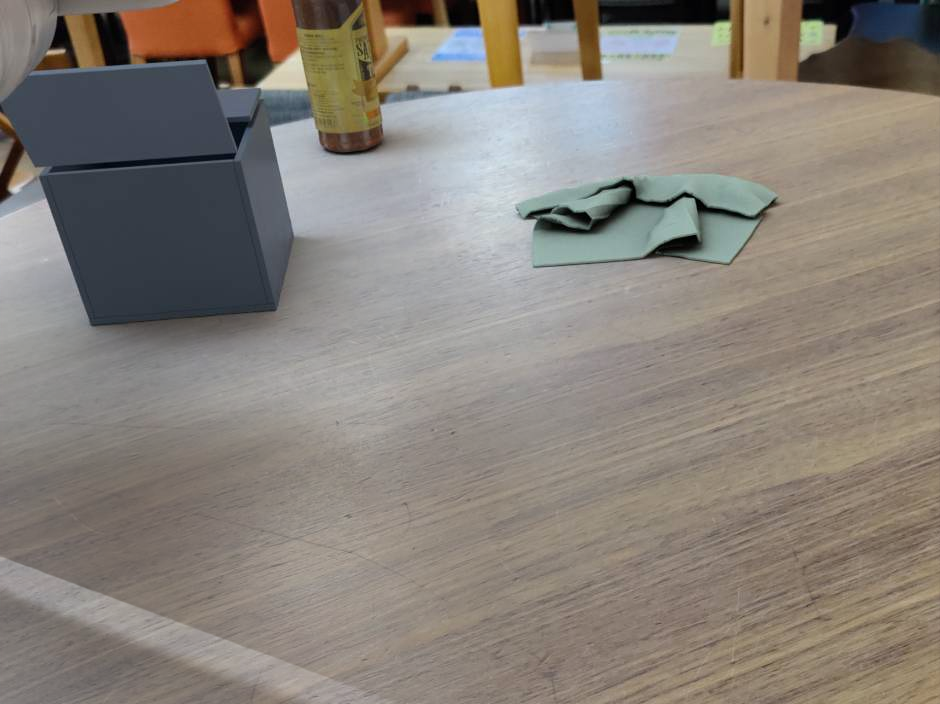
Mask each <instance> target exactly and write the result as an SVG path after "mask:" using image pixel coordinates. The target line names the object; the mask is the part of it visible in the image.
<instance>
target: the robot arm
mask: <svg viewBox="0 0 940 704" xmlns="http://www.w3.org/2000/svg"><path fill="white" fill-rule="evenodd" d="M179 1H180V0H0V103H1V102H3V101H4V100H5V99H6V98H7V97H9V95H10V94H11V93H12V92H13V91H14V90H15V89H16V88H17V87H18V86H19V85H20V84H21V83H22V82H23V80H24V79H25V78H26V77H27V76H28V75H29V74H30V73H31V72H32V71H35V69H36V68H37V67H38V66H39V65H40V63H41V62H42V61H43V59H44V58H45V57H46V55H47V53H48V51H49V50H50V48H51V46H52V44H53V40H54V37H55V33H56V29H57V23H58V22H57V21H58V17H64V16H79V15H80V16H81V15H93V14H109V13H122V12H134V11H135V12H136V11H143V10H151V9H156V8H161V7H165V6H169V5H172V4H175V3H178V2H179Z"/></svg>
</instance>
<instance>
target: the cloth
mask: <svg viewBox="0 0 940 704" xmlns="http://www.w3.org/2000/svg"><path fill="white" fill-rule="evenodd" d="M779 197H780V195H779V194H777V193H776V192H775V191H773V190H771V189H769V188H767V187H766V186H763V185H762V184H760V183H757V182H753V181H750V180H747V179H743V178H740V177H738V176H729V175H728V176H727V175H724V174H716V173H689V174H688V173H687V174H684V173H675V174H670V175H655V176H654V175H650V174H637V175H623V176H618V177H612V178H608V179H606V180H603V181H598V182H589V183H584V184H581V185H580V184H579V185H578V186H574V187H572V188H571V187H570V188H569V187H568V188H560V189H556V190H553V191H550V192H547V193H545V194H543V195H540V196H539V195H538V196H534V197H531V198H529V199H526V200H523V201H521V202H517V203H515V204H514V205H515V211H517V212H518V213H519V214H520V216H521V218H522V219H526V217H527V216H528V217H531V218H534V219H537V220H536V221H535V222H534V224H533V229H532V247H531V248H532V251H531V253H532V254H531V255H532V256H531V257H532V268H537V267H538V268H539V267H551V266H552V267H553V266H565V265H577V264H578V265H580V264H581V265H582V264H592V263H605V262H607V263H608V262H618V261H629V260H639V259H644V258H645V257H646V256H648V255H649V254H650V253H651V252H653V251H654V250H656V251H655V253H654V254H656V255H661V256H672V257H680V258H684V259H687V260H688V259H689V260H693V261H701V262H708V263H715V264H721V265H730V264H731V262H732V261H733V260H734V259H735V258H736V256H737V255H738V253H739V252H740V251H741V250H742V249H743V247H744V246H745V244H746V243H747V242H748V240H749V239H750V238H751V237H752V235H753V233H754V232H755V230H756V228H757V227H758V225H759V224H760V222H761V221H762V219H763V215H762V213H761V211H763V210H764V209H765V208H766V207H769V205H770V204H772V203H775V202H777V200H778V199H779ZM771 202H772V203H771Z"/></svg>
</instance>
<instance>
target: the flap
mask: <svg viewBox="0 0 940 704" xmlns="http://www.w3.org/2000/svg"><path fill="white" fill-rule="evenodd" d="M217 91H218V89H217V87H216V85H215V82H214V78H213V76H212V73H211V70H210V67H209V64H208V62H207V59H193V60H179V61H165V62H148V63H134V64H133V63H132V64H121V65H120V64H119V65H105V66H91V67H90V66H89V67H88V66H87V67H75V68H62V69H61V68H60V69H46V70H45V69H44V70H33V71H32V72H31V73H30V74H29V75H28V76H27V77H26V78H25V79H24V80H23V82H22V83H21V84H20V85H19V86H18V87H17V88H16V89H15V90H14V91H13V92H12V93H11V94H10V95H9V97H7V98H6V99H5V100H4V101H3V102H1V103H0V107H1V109H2V110H3V113H4V114H5V116H6V118H7V119H8V121H9V123H10V125H11V127H12V129H13V130H14V133H15V134H16V137H17V138H18V140H19V142H20V143H21V145H22V147H23V149H24V150H25V152H26V154H27V156H28V157H29V159H30V161H31V163H32V165H33V167H34V168H45V167H50V166H63V165H77V164H91V163H104V162H118V161H131V160H145V159H159V158H172V157H186V156H199V155H213V154H226V153H237V147H236V144H235V141H234V138H233V136H232V133H231V130H230V127H229V124H228V121H227V119H226V116H225V113H224V110H223V107H222V104H221V101H220V99H219V96H218V93H217Z"/></svg>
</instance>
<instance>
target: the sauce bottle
mask: <svg viewBox="0 0 940 704" xmlns="http://www.w3.org/2000/svg"><path fill="white" fill-rule="evenodd" d="M290 5H291V7H292V10H293V16H294V21H295V33H296V37H297V43H298V48H299V53H300V56H301V62H302V67H303V73H304V76H305V82H306V88H307V90H308V91H307V92H308V97H309V100H310V101H309V102H310V107H311V111H312V116H313V121H314V126H315V129H316V130H317V133H318V141H319V144H320V145H321V147H322V148H324V149H325V150H327V151H330V152H336V153H350V152H358V151H365V150H368V149H369V148H373V147H376V146H377V145H379V144H381V142H382V141H383V139H384V128H383V116H382V108H381V103H380V95H379V90H378V85H377V84H378V83H377V79H376V73H375V65H374V60H373V54H372V48H371V42H370V37H369V32H368V27H367V20H366V13H365V9H364V8H365V7H364V2H363V0H290Z"/></svg>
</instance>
